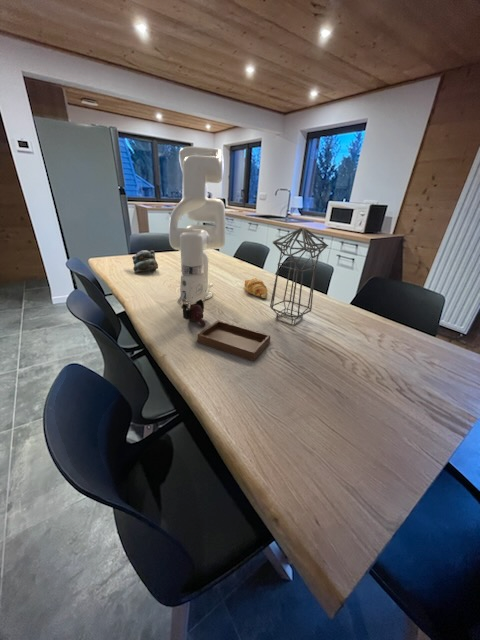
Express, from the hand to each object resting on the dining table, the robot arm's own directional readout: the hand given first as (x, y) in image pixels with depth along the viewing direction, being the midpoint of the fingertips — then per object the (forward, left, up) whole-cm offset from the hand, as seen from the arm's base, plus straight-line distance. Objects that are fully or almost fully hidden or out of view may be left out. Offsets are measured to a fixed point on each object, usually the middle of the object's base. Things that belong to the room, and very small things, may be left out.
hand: (193, 314), depth 100 cm
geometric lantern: (-22, +31, -2) cm, 38 cm away
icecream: (0, 0, -3) cm, 3 cm away
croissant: (-42, +6, -2) cm, 42 cm away
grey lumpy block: (-37, -64, -2) cm, 74 cm away
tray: (+6, +21, -2) cm, 22 cm away
